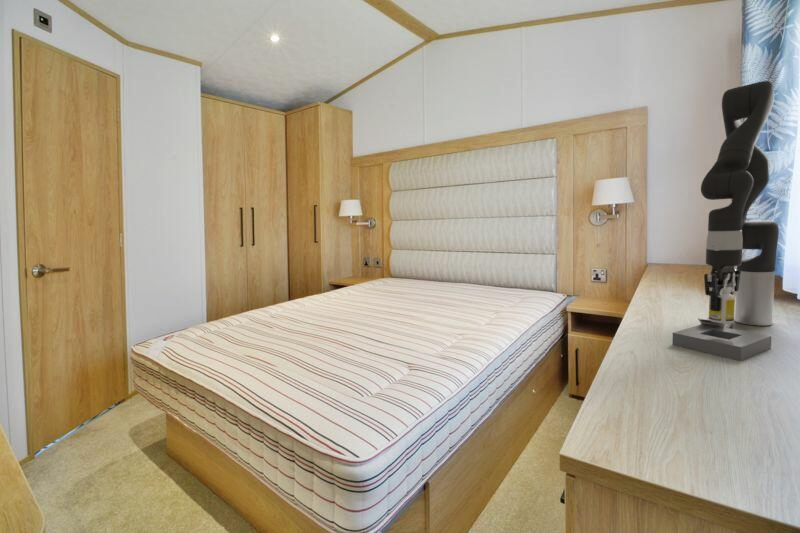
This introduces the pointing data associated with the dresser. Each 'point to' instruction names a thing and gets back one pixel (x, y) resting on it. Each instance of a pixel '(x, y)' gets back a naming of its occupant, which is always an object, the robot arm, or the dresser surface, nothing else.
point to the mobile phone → (714, 323)
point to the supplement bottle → (724, 308)
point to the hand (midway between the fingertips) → (721, 309)
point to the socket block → (722, 341)
